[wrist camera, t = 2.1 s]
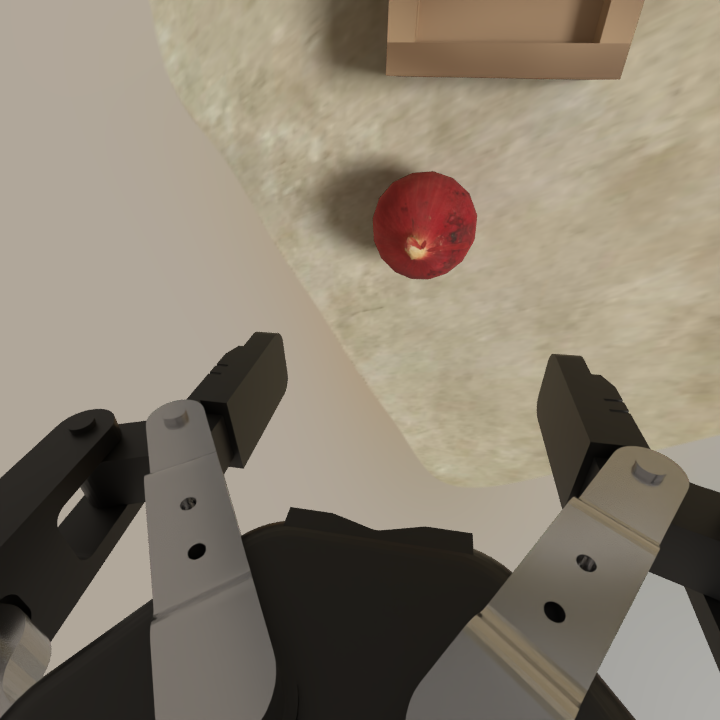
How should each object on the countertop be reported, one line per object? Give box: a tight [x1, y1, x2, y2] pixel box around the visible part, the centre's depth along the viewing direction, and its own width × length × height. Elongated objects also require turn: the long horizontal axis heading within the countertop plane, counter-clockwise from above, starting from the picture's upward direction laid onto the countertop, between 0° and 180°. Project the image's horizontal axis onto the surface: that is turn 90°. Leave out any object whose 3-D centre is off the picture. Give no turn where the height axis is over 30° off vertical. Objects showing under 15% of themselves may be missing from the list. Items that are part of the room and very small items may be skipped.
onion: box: [373, 171, 477, 279], centre depth 23 cm, size 6×6×8 cm
